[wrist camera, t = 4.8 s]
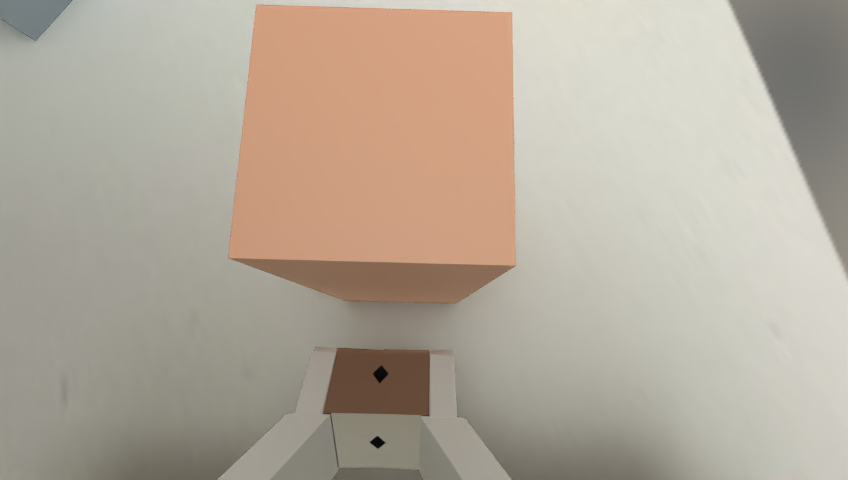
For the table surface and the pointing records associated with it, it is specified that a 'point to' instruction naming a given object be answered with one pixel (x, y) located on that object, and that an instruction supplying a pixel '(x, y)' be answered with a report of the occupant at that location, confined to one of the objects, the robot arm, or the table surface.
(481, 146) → the terracotta post
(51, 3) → the slate post
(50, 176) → the table surface
